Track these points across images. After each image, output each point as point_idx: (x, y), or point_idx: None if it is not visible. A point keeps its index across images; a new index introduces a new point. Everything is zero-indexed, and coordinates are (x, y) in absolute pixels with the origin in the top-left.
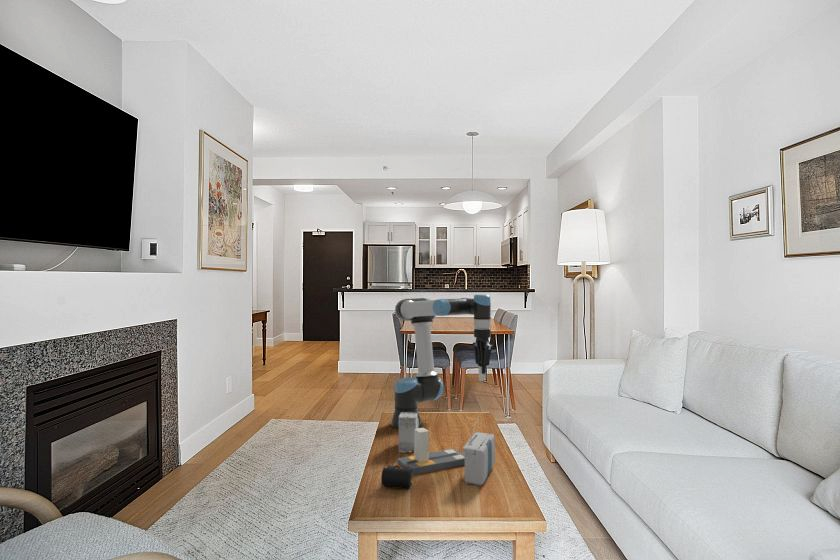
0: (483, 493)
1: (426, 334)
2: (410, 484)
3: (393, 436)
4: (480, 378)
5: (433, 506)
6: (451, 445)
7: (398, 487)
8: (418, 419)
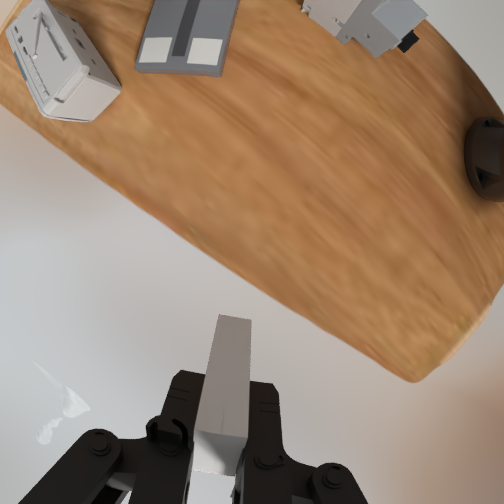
0: None
1: None
2: None
3: (442, 63)
4: (219, 328)
5: None
6: (291, 122)
7: None
8: (392, 35)
